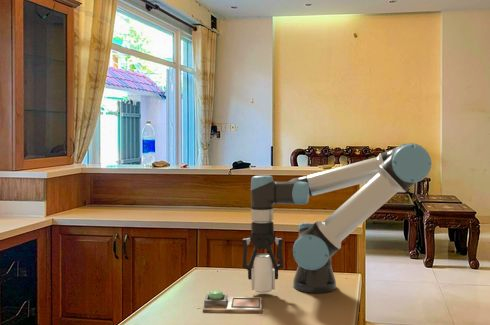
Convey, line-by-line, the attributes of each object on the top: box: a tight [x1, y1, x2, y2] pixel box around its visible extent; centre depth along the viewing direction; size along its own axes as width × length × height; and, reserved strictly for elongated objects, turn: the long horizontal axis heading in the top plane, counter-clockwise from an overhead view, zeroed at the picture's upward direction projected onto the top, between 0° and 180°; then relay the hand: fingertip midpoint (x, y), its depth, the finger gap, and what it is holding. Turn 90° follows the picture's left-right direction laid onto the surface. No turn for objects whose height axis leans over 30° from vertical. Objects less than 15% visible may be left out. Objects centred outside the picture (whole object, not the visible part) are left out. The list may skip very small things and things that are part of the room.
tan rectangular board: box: [202, 293, 263, 314], centre depth 162 cm, size 18×13×3 cm
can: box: [252, 253, 273, 294], centre depth 173 cm, size 6×6×12 cm
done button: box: [208, 290, 224, 300], centre depth 162 cm, size 4×4×2 cm
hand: (263, 288), depth 173 cm, fingers closed on can, 6 cm apart
